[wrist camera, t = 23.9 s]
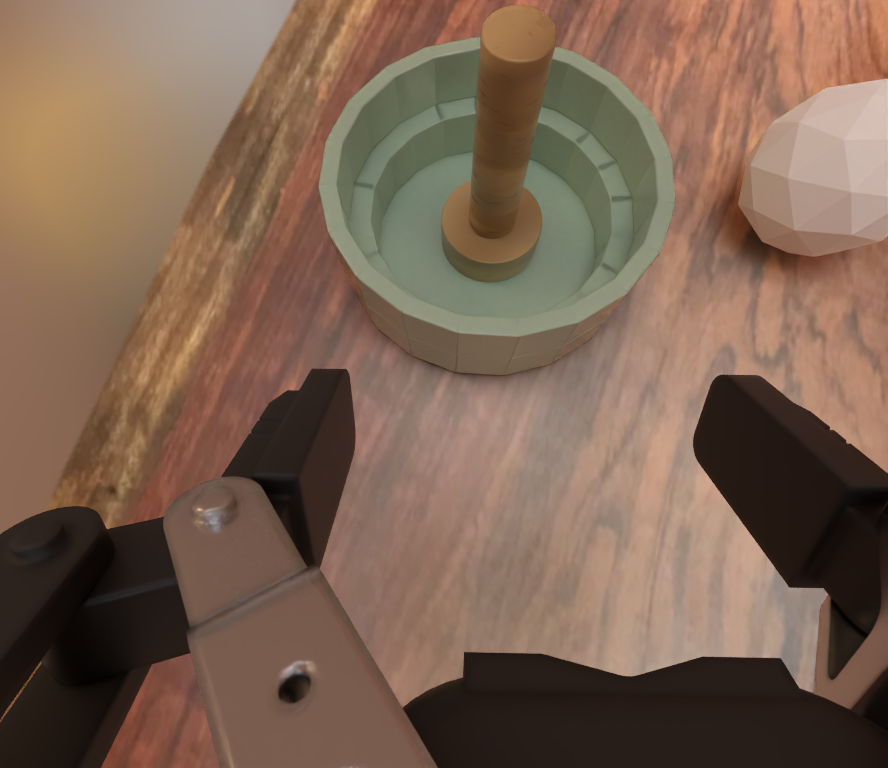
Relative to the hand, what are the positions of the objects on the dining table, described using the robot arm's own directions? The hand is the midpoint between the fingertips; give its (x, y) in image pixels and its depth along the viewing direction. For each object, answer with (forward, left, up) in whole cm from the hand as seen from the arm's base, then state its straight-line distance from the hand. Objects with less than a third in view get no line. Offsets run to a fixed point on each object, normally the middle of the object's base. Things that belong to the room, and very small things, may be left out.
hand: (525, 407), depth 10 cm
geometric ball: (+4, +22, -13) cm, 26 cm away
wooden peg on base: (-7, +10, -12) cm, 17 cm away
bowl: (-8, +10, -13) cm, 18 cm away
